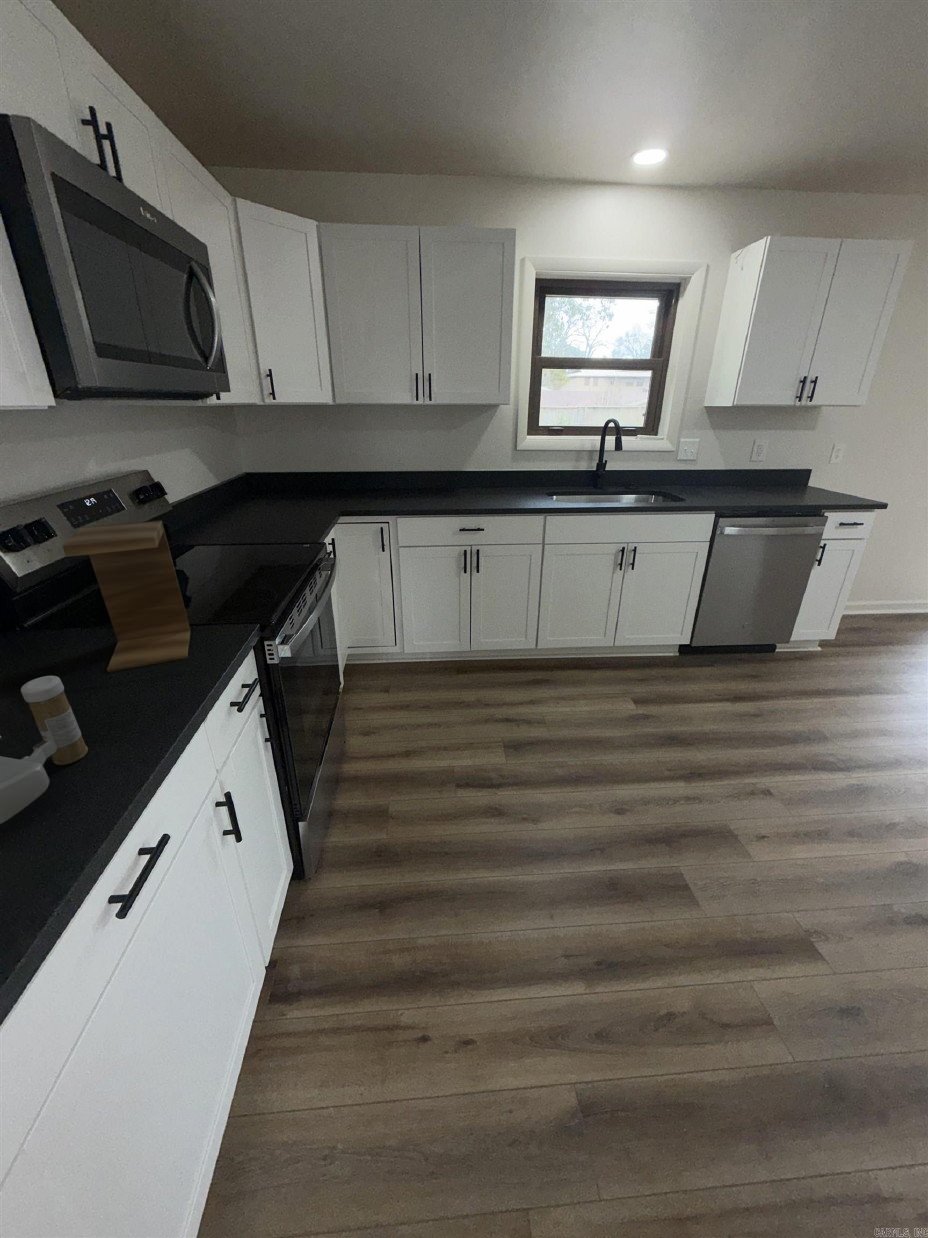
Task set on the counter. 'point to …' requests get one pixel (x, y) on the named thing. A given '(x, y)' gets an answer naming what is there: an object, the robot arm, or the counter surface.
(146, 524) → the shelf
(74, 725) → the sprinkles bottle
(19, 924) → the counter surface
